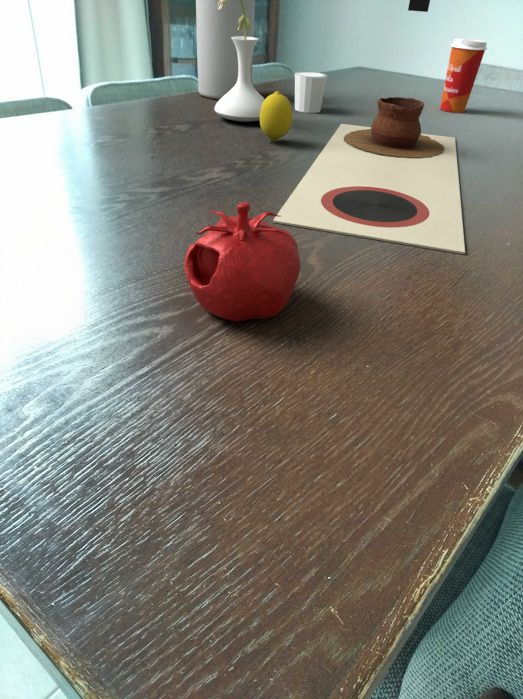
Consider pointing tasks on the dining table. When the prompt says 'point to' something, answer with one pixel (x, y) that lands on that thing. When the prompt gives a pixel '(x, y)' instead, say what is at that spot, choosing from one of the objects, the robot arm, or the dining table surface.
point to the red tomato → (243, 267)
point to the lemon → (275, 116)
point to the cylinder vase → (220, 44)
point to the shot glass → (309, 91)
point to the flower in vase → (241, 80)
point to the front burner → (375, 206)
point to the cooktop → (388, 173)
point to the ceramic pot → (396, 131)
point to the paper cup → (461, 73)
